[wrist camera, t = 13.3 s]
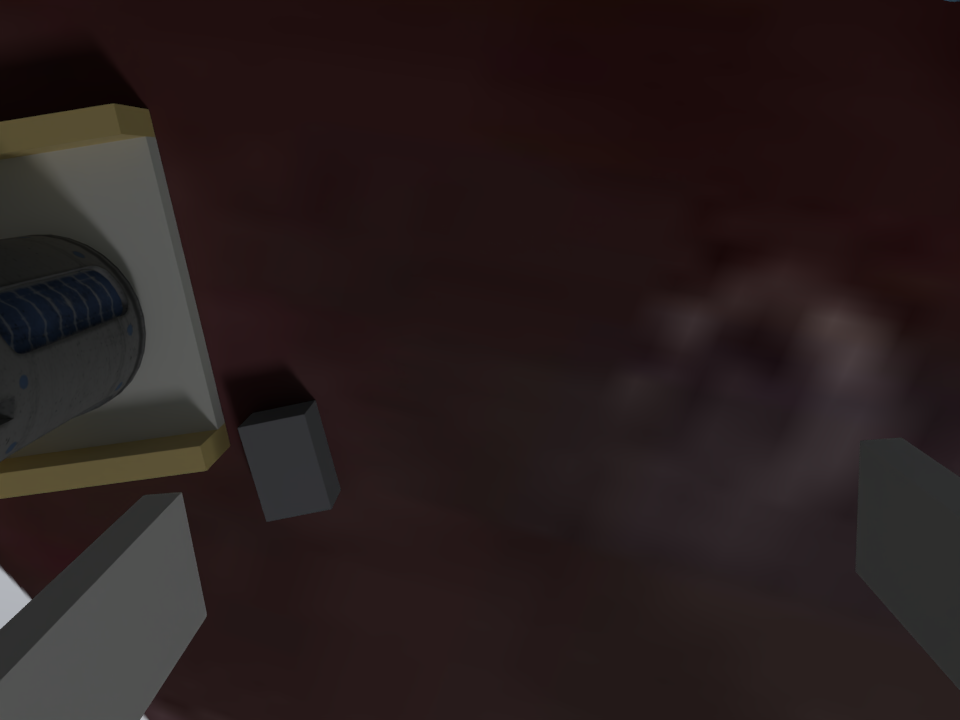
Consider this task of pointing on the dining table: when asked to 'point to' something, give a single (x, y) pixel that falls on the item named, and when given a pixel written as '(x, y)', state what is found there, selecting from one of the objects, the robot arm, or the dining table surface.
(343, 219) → the dining table surface
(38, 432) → the beverage bottle
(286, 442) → the gray rectangular block
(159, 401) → the dock bay
